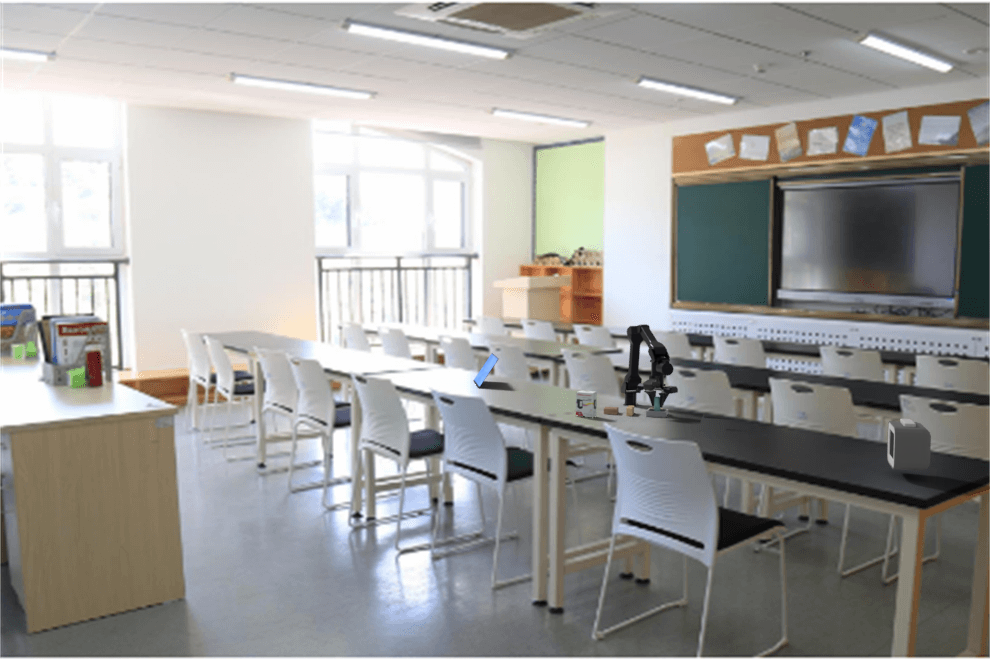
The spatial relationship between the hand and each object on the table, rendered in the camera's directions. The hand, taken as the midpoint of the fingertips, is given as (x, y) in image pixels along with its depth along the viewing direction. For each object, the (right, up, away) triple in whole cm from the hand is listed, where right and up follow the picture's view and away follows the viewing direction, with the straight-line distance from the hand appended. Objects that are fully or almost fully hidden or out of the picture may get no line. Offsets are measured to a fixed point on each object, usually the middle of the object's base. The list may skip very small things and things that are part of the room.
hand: (657, 406), depth 399 cm
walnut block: (-20, -4, +6) cm, 22 cm away
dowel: (0, -4, 0) cm, 4 cm away
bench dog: (-12, -4, +3) cm, 13 cm away
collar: (+1, -3, +10) cm, 10 cm away
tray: (0, -4, 0) cm, 4 cm away
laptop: (-90, +2, +95) cm, 131 cm away
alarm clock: (+66, -11, -104) cm, 123 cm away
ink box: (-33, -5, -4) cm, 34 cm away
